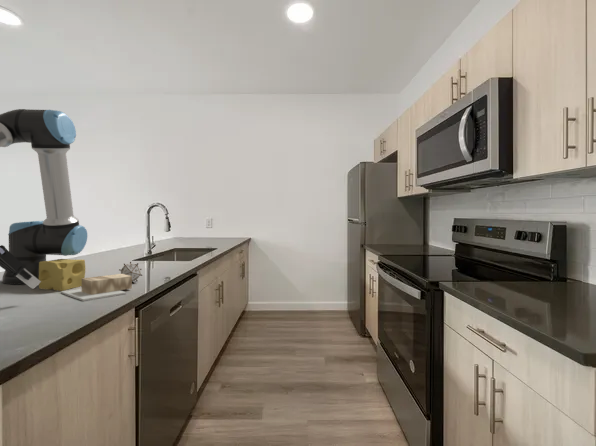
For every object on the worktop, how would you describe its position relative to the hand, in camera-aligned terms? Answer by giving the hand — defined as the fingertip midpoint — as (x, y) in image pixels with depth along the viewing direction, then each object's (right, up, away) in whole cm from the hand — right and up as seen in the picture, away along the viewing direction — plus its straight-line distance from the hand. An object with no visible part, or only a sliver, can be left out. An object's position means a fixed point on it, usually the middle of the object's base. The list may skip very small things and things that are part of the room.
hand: (36, 284), depth 109 cm
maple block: (+8, -3, +12) cm, 15 cm away
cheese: (-6, -5, +22) cm, 23 cm away
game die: (+13, -5, +34) cm, 37 cm away
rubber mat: (+10, -5, +14) cm, 18 cm away
